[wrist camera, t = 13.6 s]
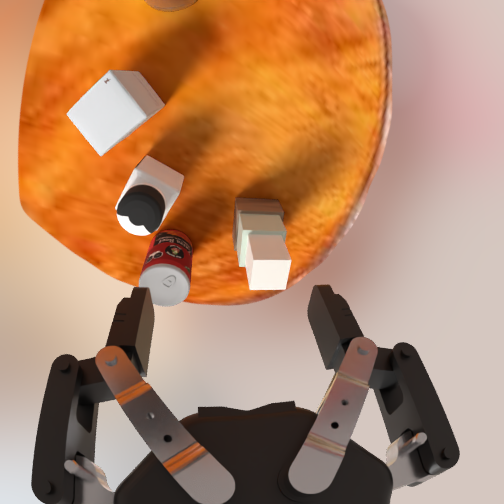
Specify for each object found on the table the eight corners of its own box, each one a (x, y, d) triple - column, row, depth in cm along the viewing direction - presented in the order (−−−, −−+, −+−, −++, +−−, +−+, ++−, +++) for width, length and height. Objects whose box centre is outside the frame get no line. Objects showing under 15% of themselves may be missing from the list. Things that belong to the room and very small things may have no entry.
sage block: (239, 213, 43) (242, 229, 39) (279, 215, 44) (286, 231, 39) (236, 247, 46) (239, 266, 42) (273, 248, 47) (279, 267, 43)
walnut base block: (235, 197, 46) (237, 210, 42) (277, 199, 48) (284, 212, 43) (232, 234, 50) (234, 250, 46) (272, 235, 51) (277, 251, 47)
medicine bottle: (146, 153, 40) (124, 179, 30) (185, 175, 43) (176, 207, 33) (126, 190, 43) (103, 226, 33) (163, 210, 46) (150, 250, 36)
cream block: (247, 234, 39) (253, 259, 34) (281, 234, 40) (291, 260, 35) (245, 262, 41) (249, 289, 37) (276, 262, 42) (285, 289, 37)
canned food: (200, 237, 50) (197, 276, 40) (183, 271, 53) (179, 313, 44) (158, 221, 47) (146, 258, 38) (145, 257, 50) (133, 297, 41)
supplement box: (101, 101, 34) (63, 112, 24) (139, 70, 33) (110, 67, 22) (128, 136, 38) (99, 158, 28) (167, 106, 37) (148, 116, 26)
